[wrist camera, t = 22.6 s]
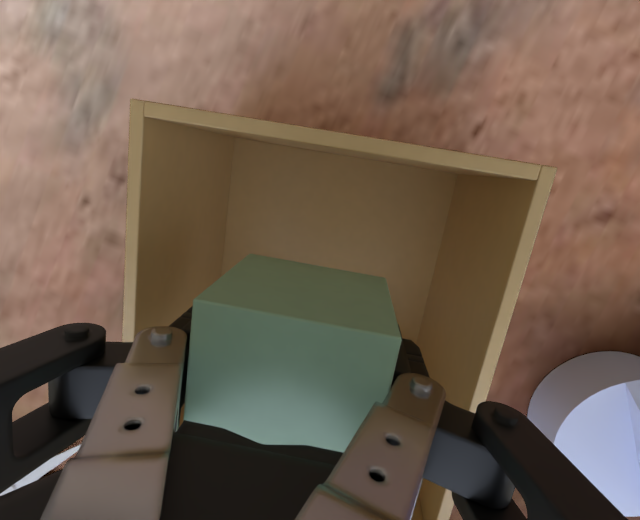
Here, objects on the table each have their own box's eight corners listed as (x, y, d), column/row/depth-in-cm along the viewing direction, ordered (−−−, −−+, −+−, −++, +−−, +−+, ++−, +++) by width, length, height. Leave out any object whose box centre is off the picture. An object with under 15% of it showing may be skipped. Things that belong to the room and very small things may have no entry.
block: (249, 252, 14) (192, 298, 9) (386, 277, 14) (402, 338, 9) (234, 374, 15) (177, 472, 10) (360, 399, 15) (362, 511, 10)
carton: (406, 405, 26) (438, 557, 16) (207, 366, 27) (116, 487, 17) (466, 166, 22) (558, 167, 12) (230, 127, 23) (129, 98, 13)
